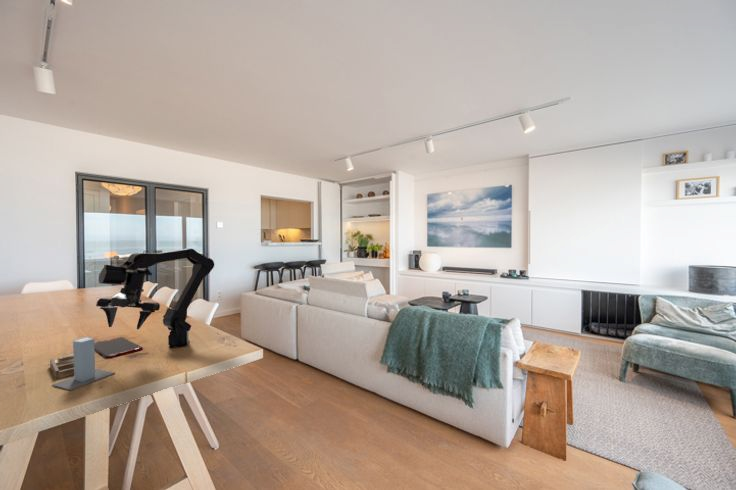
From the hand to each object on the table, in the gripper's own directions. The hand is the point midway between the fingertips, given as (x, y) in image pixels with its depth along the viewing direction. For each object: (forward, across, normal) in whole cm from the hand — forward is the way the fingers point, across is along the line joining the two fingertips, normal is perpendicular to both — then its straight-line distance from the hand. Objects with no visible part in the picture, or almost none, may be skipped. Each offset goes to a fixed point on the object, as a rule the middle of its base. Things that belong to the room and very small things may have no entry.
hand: (124, 328), depth 114 cm
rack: (+15, -13, -3) cm, 20 cm away
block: (+14, -2, -13) cm, 19 cm away
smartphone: (+12, -10, +18) cm, 23 cm away
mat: (+14, -2, -13) cm, 20 cm away
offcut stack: (+14, -16, +1) cm, 22 cm away
